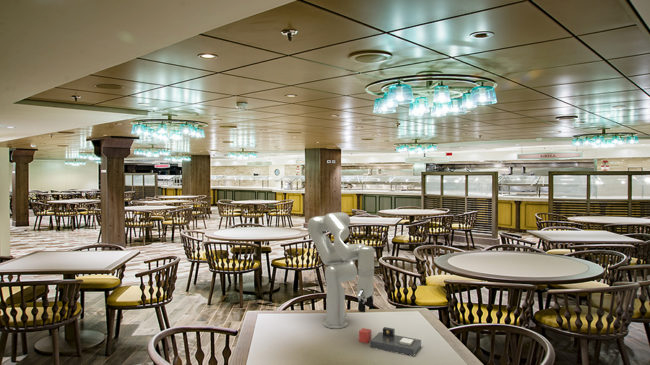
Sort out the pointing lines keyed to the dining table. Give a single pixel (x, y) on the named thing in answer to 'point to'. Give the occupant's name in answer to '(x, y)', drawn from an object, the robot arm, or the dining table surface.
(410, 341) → the button
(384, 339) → the panel
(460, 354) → the dining table surface
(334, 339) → the dining table surface
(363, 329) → the red block
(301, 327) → the dining table surface
